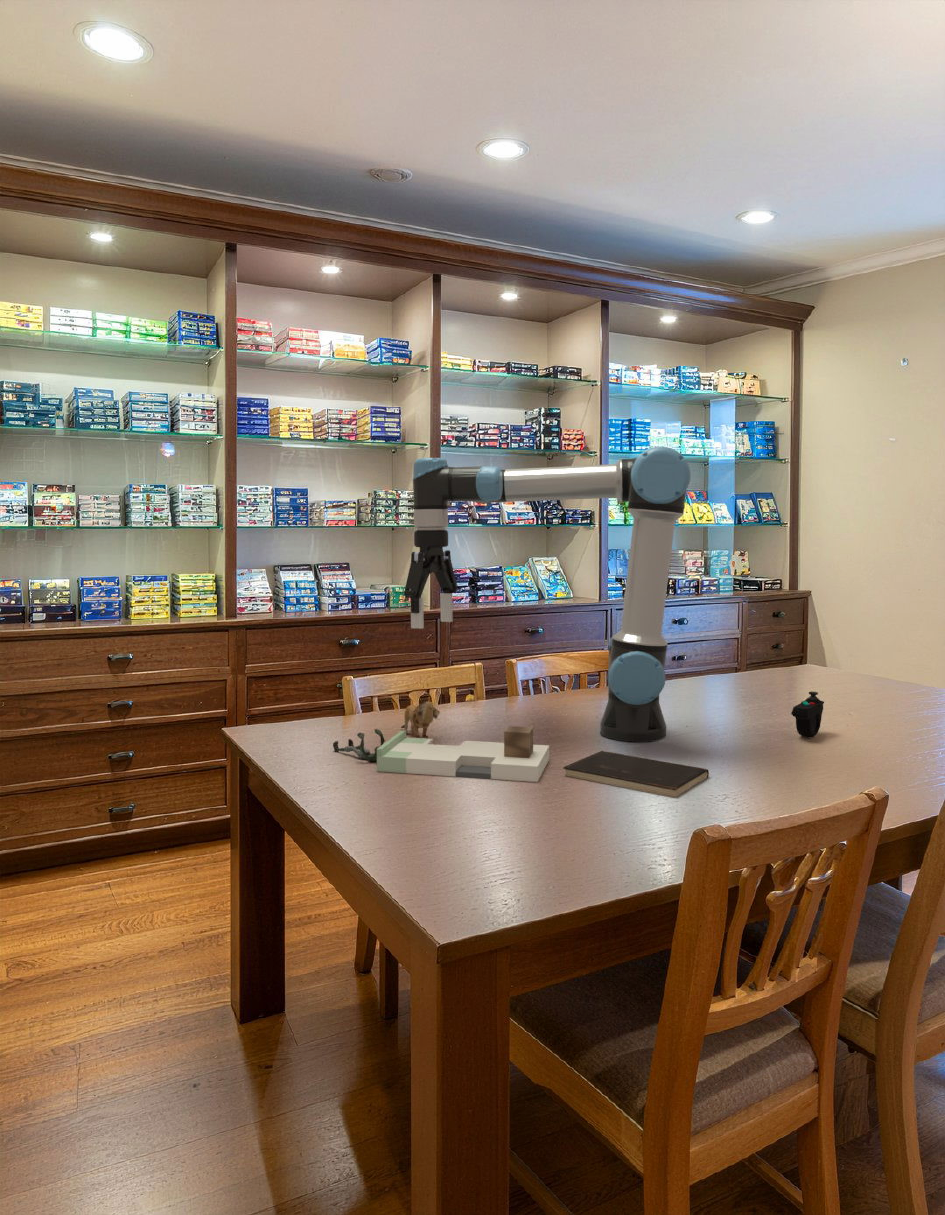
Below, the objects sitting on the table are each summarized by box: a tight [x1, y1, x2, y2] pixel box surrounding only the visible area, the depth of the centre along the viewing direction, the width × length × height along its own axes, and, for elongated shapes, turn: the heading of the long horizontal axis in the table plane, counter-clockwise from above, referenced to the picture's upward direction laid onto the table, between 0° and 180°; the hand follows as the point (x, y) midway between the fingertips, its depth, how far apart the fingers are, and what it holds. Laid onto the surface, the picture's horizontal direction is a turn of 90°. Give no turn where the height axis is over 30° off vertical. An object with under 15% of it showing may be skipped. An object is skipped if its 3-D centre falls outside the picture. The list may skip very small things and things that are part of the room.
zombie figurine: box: [332, 728, 386, 763], centre depth 179 cm, size 5×7×15 cm
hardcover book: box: [563, 750, 710, 798], centre depth 166 cm, size 16×23×2 cm
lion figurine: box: [400, 701, 441, 739], centre depth 197 cm, size 15×5×9 cm, turn 34°
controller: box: [790, 691, 825, 739], centre depth 196 cm, size 4×12×10 cm, turn 141°
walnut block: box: [503, 725, 534, 758], centre depth 170 cm, size 5×5×5 cm
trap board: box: [376, 729, 550, 783], centre depth 173 cm, size 32×16×4 cm, turn 77°
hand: (432, 625), depth 191 cm, fingers open, 13 cm apart
